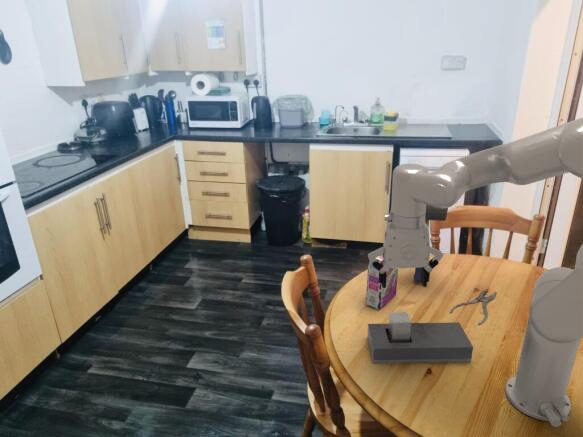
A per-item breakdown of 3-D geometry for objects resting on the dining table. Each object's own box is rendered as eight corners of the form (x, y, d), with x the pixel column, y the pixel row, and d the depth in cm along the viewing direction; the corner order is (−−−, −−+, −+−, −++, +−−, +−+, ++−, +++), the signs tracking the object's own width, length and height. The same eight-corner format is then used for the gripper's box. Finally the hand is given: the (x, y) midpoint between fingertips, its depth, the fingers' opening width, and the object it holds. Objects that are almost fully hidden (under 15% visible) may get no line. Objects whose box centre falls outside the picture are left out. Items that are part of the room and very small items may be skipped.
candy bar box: (380, 311, 128) (382, 262, 122) (365, 305, 131) (367, 257, 124) (397, 294, 136) (401, 247, 129) (383, 289, 139) (385, 243, 132)
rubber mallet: (398, 284, 141) (404, 198, 130) (401, 273, 147) (408, 190, 136) (438, 291, 137) (448, 202, 125) (440, 279, 143) (450, 194, 132)
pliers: (448, 314, 125) (465, 283, 140) (447, 317, 125) (464, 285, 140) (483, 325, 120) (497, 291, 135) (483, 327, 120) (497, 293, 135)
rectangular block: (470, 362, 107) (473, 347, 105) (373, 363, 108) (374, 348, 106) (457, 336, 116) (459, 322, 114) (367, 337, 117) (368, 323, 115)
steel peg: (408, 351, 110) (411, 322, 106) (391, 352, 110) (393, 322, 106) (404, 340, 114) (406, 311, 110) (387, 341, 114) (389, 312, 110)
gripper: (371, 226, 95) (369, 294, 101) (451, 224, 94) (444, 292, 101) (366, 214, 102) (365, 277, 108) (441, 211, 101) (435, 275, 108)
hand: (403, 284), depth 104 cm, fingers open, 9 cm apart
